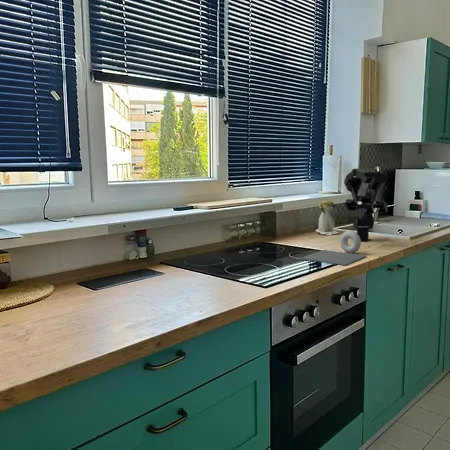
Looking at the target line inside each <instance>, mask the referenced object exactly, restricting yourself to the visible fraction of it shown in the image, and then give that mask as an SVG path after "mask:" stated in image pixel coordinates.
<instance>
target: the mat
mask: <svg viewBox="0 0 450 450" xmlns="http://www.w3.org/2000/svg"><path fill="white" fill-rule="evenodd" d="M365 258H367V255H363V254H357V253H348V252H345V251H344V252H343V251H336V250H330V249H329V250H328V249H323V250H319V251H317V252H314V253H311V254H308V255H305V256H302V257H300V259H301V260H307V261H312V262H317V261H318V262H317V263H324V262H326V263H325V264H330V263H333V264H332V265H336V264H337V266H343V267H346V266H349V265H351V264H353V263H356V262H358V261H360V260H362V259H365Z"/></svg>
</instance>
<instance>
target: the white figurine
mask: <svg viewBox="0 0 450 450" xmlns="http://www.w3.org/2000/svg"><path fill="white" fill-rule="evenodd" d="M318 208H319V209H320V211H321V213H320V216H319V218H318V228H317V229H315V232H316V233H317V234H318V233H319V234H321V235H326V236H332V235H336V234H340V232H339V231H336V229H334V228H335V226H336V221H335V220H334V217H332V214H331V213H330V211H332V210H335V209H336V208H337V205H335V203H334V202H333V201H331V200H323V201H321V202H320V203H319V204H318Z"/></svg>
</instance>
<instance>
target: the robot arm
mask: <svg viewBox="0 0 450 450" xmlns="http://www.w3.org/2000/svg"><path fill="white" fill-rule="evenodd" d="M386 181H387V176H386V175H385V174H384V173H382V172H381V170H377V171H373V170H372V171H367V170H364V169H363V168H353V169H352V170H351V172H349V173H348V174H347V175H345V178H344V181H343V182H344V183H343V184H344V186H345V188H346V190H347V191H349V192H350V194H351V196H352V198H351V199H350V198H347V199H345V202H344V204H345V206H346V208H347V211H351V212H352V211H353V212H356V216H355V219H354V221H353V223H352V227H353V229H355V230H356V233H357V234H358V235H359V237H360V239H361V242H369V241H371V240H372V238H369V234H370V233H369V231H370V230H369V229H371V230H372V229H373V228H374V224H375V217H374V213H375V210H376V209H378V212H379V213H380V214H387V212H388V210H389V209H388V208H389V207H388V205H387V202H386V201H385V200H377V197H378V195H379V193H380V190H381V189H383V187H384V185H385V183H386ZM362 184H367V187H366V189H365V188H364V189H362V188H361V186H362Z"/></svg>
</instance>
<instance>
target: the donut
mask: <svg viewBox="0 0 450 450" xmlns="http://www.w3.org/2000/svg"><path fill="white" fill-rule="evenodd" d="M349 239H351V241H352V244H351V245H350V244H349V242H348V240H349ZM361 244H362V241H361V239H360V237H359V235H358V234H357V232H356V231H353V230H346V231H344V232H343V233H341V235H340V237H339V245H340V248H341V250H343V251H344V252H345V253H351V254H355V253H356V252H358V251H359V249H360V248H361V246H362V245H361Z"/></svg>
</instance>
